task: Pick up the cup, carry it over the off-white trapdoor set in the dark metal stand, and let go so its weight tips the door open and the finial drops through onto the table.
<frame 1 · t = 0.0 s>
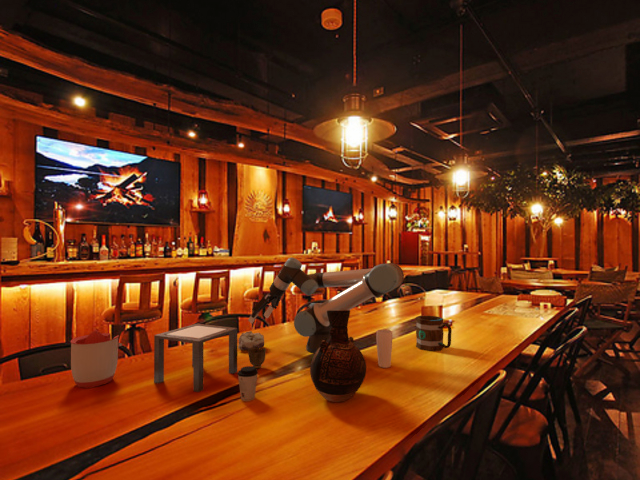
hand: (258, 319, 175), 15 cm above the table, tool tilted 35°, fingers open, 13 cm apart
mug: (434, 349, 175), on the table
ceramic vessel: (338, 397, 119), on the table
drinking glass: (384, 366, 150), on the table
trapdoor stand: (197, 377, 138), on the table
trapdoor: (196, 332, 138), point 17 cm above the table, hinge at 0.0°
coffee cup: (247, 398, 119), on the table
cup: (257, 368, 148), on the table
geode: (250, 349, 177), on the table
citrus juicer: (97, 382, 134), on the table
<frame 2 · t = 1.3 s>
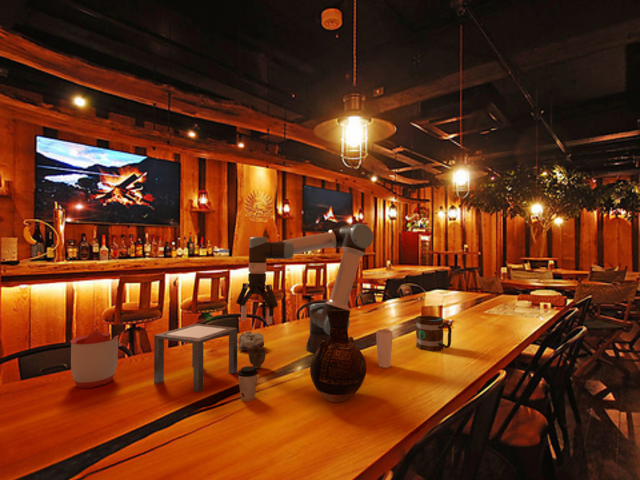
hand: (256, 322, 149), 19 cm above the table, tool pointing down, fingers open, 13 cm apart
nothing on the table moved.
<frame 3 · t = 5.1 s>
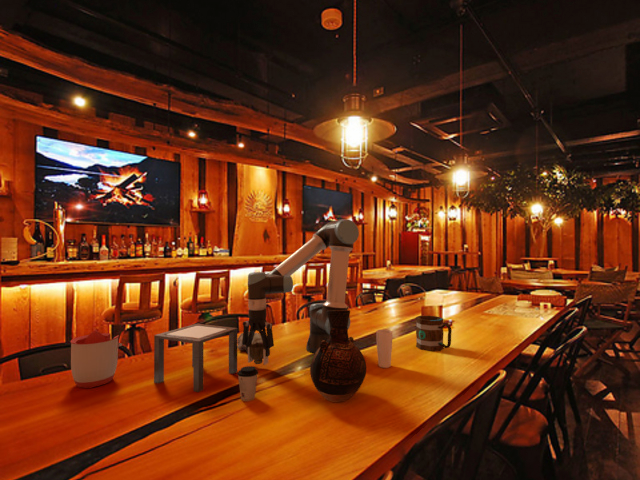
hand: (258, 362, 148), 2 cm above the table, tool pointing down, fingers closed on cup, 7 cm apart
cup: (258, 363, 148), point 2 cm above the table, touching gripper
everything else where it was.
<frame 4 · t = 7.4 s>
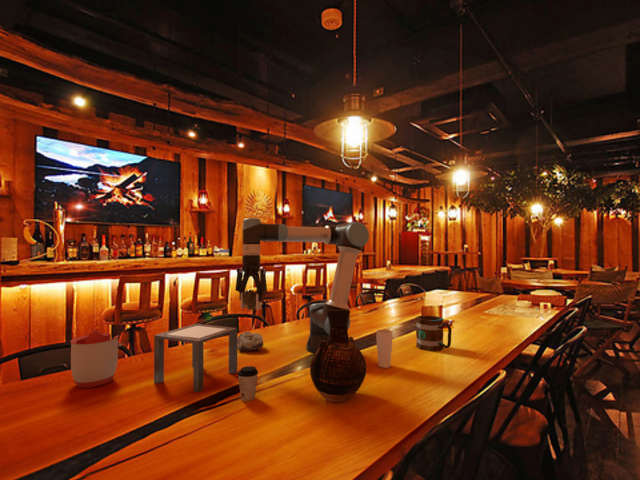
hand: (250, 308, 148), 25 cm above the table, tool pointing down, fingers closed on cup, 7 cm apart
cup: (251, 309, 148), point 25 cm above the table, touching gripper
everything else where it was.
when the fingers open (20 cm above the table, at t = 10.1 s): cup drops 6 cm, resting on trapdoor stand.
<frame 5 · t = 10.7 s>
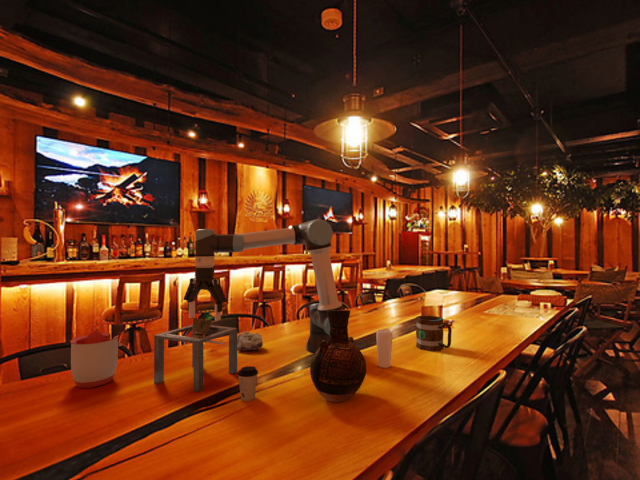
hand: (204, 319, 142), 22 cm above the table, tool pointing down, fingers open, 13 cm apart
trapdoor: (196, 339, 138), point 15 cm above the table, hinge at -19.2°
cup: (198, 339, 143), point 14 cm above the table, touching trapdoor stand
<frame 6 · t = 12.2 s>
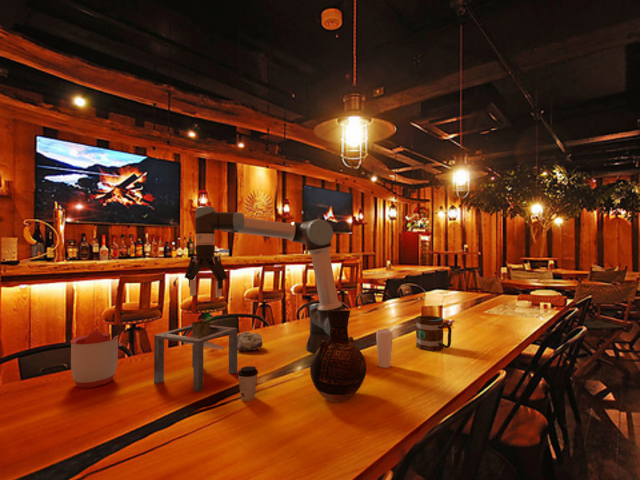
hand: (205, 296, 143), 31 cm above the table, tool pointing down, fingers open, 13 cm apart
trapdoor: (195, 341, 137), point 14 cm above the table, hinge at -25.8°, touching cup
cup: (200, 341, 144), point 12 cm above the table, touching trapdoor, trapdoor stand
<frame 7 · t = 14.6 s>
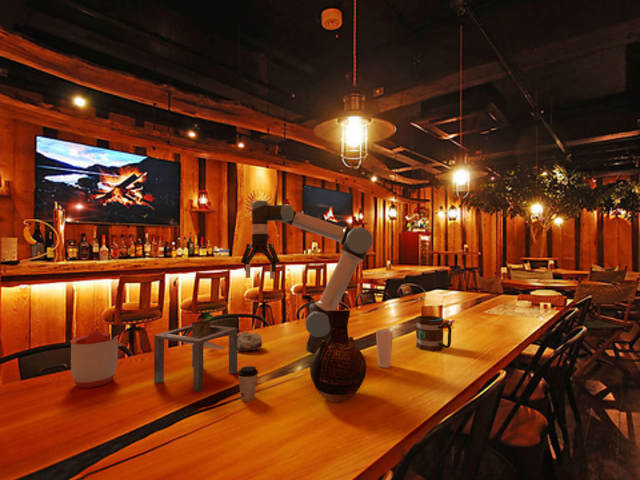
hand: (259, 278, 165), 37 cm above the table, tool pointing down, fingers open, 13 cm apart
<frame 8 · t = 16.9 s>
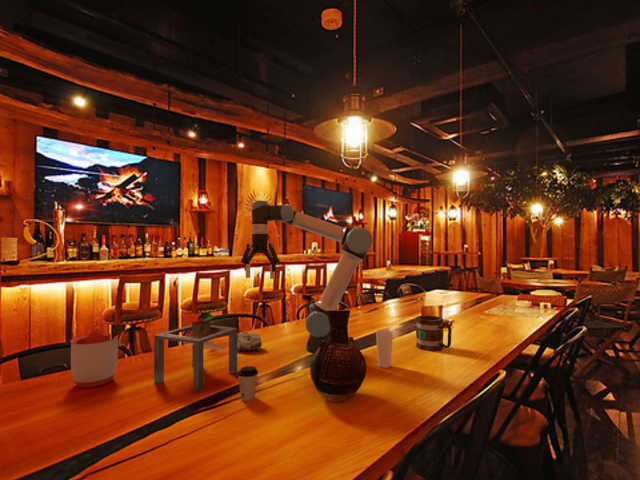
hand: (259, 278, 165), 37 cm above the table, tool pointing down, fingers open, 13 cm apart
at the end: cup point 12.4 cm above the table; the gripper is holding nothing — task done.
